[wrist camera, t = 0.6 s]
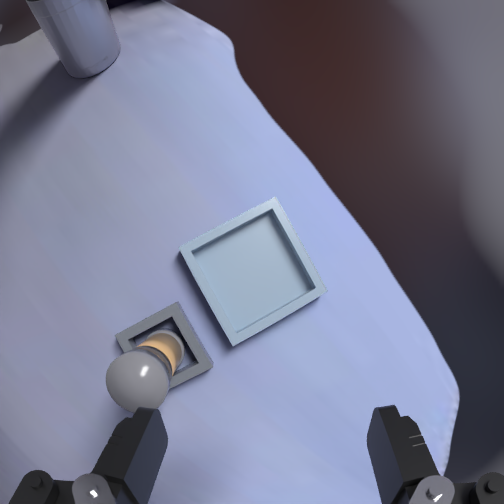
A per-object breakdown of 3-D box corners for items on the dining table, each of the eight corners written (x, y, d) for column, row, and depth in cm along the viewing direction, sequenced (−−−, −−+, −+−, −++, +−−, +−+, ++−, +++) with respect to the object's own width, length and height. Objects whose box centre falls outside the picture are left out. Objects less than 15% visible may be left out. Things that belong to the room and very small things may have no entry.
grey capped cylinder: (138, 339, 33) (94, 369, 20) (172, 321, 34) (144, 343, 20) (159, 373, 33) (127, 421, 19) (192, 356, 34) (178, 399, 20)
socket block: (120, 332, 33) (114, 335, 31) (178, 301, 34) (175, 302, 32) (154, 391, 33) (151, 397, 31) (213, 362, 34) (213, 367, 32)
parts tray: (180, 249, 35) (178, 247, 33) (272, 201, 37) (275, 196, 35) (232, 342, 34) (232, 346, 33) (322, 290, 36) (327, 291, 34)
